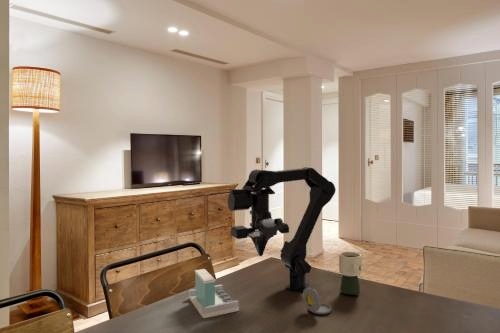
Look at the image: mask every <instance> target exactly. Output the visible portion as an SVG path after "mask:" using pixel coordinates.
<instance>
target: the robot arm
mask: <svg viewBox="0 0 500 333" xmlns="http://www.w3.org/2000/svg"><path fill="white" fill-rule="evenodd" d="M302 180H303V181H304V182H305V184H306V185H307V186H308V188H310V190H309V201H308V202H309V203H308V205H307V207H306V209H305V211H304V214H303V215H302V217H301V220H300V223H299V225H298V226H297V229H296V232H295V234H294V236H293V238H292V239H291V240H290V241H288V240H285V241H284V242H283V246H282V249H280V250H279V252H281V253H280V260H281V263H282V264H284V266H285V268H287V269H289V270H288V274H289V275H288V284H287V285H286V286H285V290H291V291H296V292H299V293H303V292H304V290H305V289H306V288H309V287H310V284H309V283H307V281H306V280H307V274H310V272H311V270H312V266H311V264H310V263H308V262H307V261H306V258H307V244H308V242H309V240H310V237H311V235H312V233H313V230H314V228H315V226H316V224H317V222H318V219H319V217H320V215H321V213H322V212H321V211H322V210H323V208H324V207H325V206H326V205H327V204H329V202H331V201H332V198H334V195H335V193H336V190H337V189H336V187H335V184H334V182H332V181H329V179H328V178H326V177H325V176H323V175H322V174H320V173H319V172H318V171H317V170H316V169H315V168H314V167H306V166H305V167H302V168H294V169H285V170H266V169H253V170H251V172H250V173H249V175H248V179H247V181H246V182H245V183H244V185H243V186H242V188H239V189H237V188H230V192H229V193H228V197H227V206H228V209H229V211H230V212H235V211H236V212H237V211H244V210H245V211H249V214H250V218H251V222H250V223H249V226H250V227H245V226H244V225H235V226H232V227H231V229H230V236H231V237H233V238H235V239H237V240H240V239H247V238H250V239H251V241H252V243H253V244H254V247H255V250H256V251H257V255H258V257H263V255H264V254H265V253H264V252H265V250H266V246H267V244H268V242H269V240H270V239H271V238H274V236H277V234H278V232H279V233H280V234H288V233H290V227H289V224H288V223H285V222H283V219H282V218H281V217H279V218H278V217H277V218H272V213H271V211H270V195H275V194H276V192H275V191H274V190H273V189H272V188H271V187H274V186H275V185H276V184H280V183H286V182H287V183H288V182H295V181H302ZM250 208H251V210H249V209H250Z"/></svg>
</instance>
